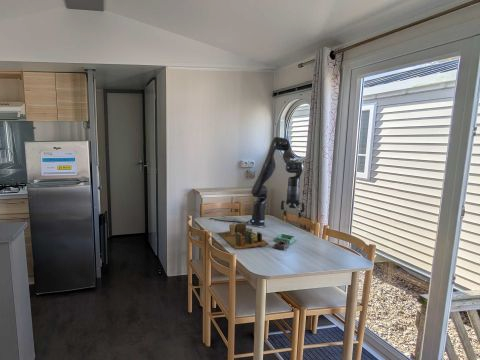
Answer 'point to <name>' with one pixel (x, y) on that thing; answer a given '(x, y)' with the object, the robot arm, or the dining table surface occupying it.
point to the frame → (281, 245)
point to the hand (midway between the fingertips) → (292, 217)
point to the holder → (285, 238)
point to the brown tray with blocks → (242, 236)
